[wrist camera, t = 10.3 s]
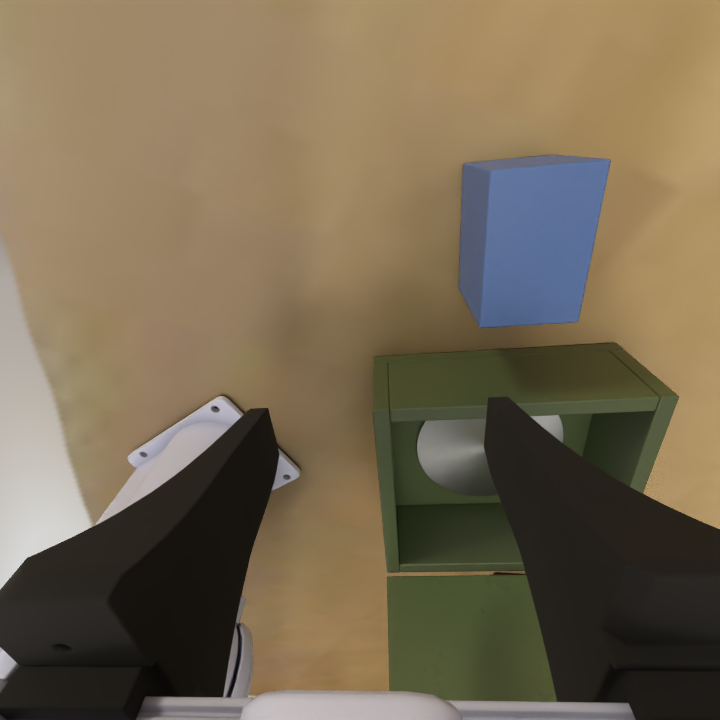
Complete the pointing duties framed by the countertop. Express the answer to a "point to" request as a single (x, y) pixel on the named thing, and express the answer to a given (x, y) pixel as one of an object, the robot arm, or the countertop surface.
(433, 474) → the silver plate
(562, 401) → the box
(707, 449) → the countertop surface
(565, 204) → the block
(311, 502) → the countertop surface
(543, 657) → the lunchbox lid
